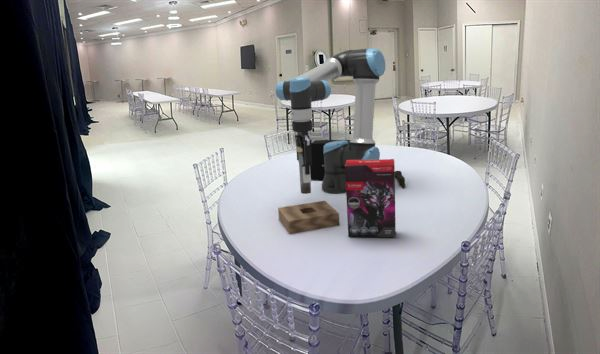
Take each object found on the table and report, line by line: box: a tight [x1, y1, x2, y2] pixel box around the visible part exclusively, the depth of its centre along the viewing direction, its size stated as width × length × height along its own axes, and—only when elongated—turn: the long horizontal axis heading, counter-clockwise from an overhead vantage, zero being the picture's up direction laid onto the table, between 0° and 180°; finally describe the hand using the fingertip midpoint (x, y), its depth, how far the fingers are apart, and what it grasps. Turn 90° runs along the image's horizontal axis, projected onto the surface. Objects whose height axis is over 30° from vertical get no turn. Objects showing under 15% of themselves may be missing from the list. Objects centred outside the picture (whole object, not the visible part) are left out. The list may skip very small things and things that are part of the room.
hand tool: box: [395, 170, 406, 189], centre depth 216 cm, size 19×4×5 cm, turn 173°
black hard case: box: [310, 139, 351, 182], centre depth 228 cm, size 30×12×20 cm, turn 72°
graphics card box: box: [345, 158, 397, 238], centre depth 156 cm, size 17×7×27 cm, turn 79°
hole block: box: [277, 200, 340, 235], centre depth 174 cm, size 20×16×5 cm
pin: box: [295, 146, 312, 195], centre depth 168 cm, size 5×5×18 cm
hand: (305, 180), depth 169 cm, fingers closed on pin, 4 cm apart
